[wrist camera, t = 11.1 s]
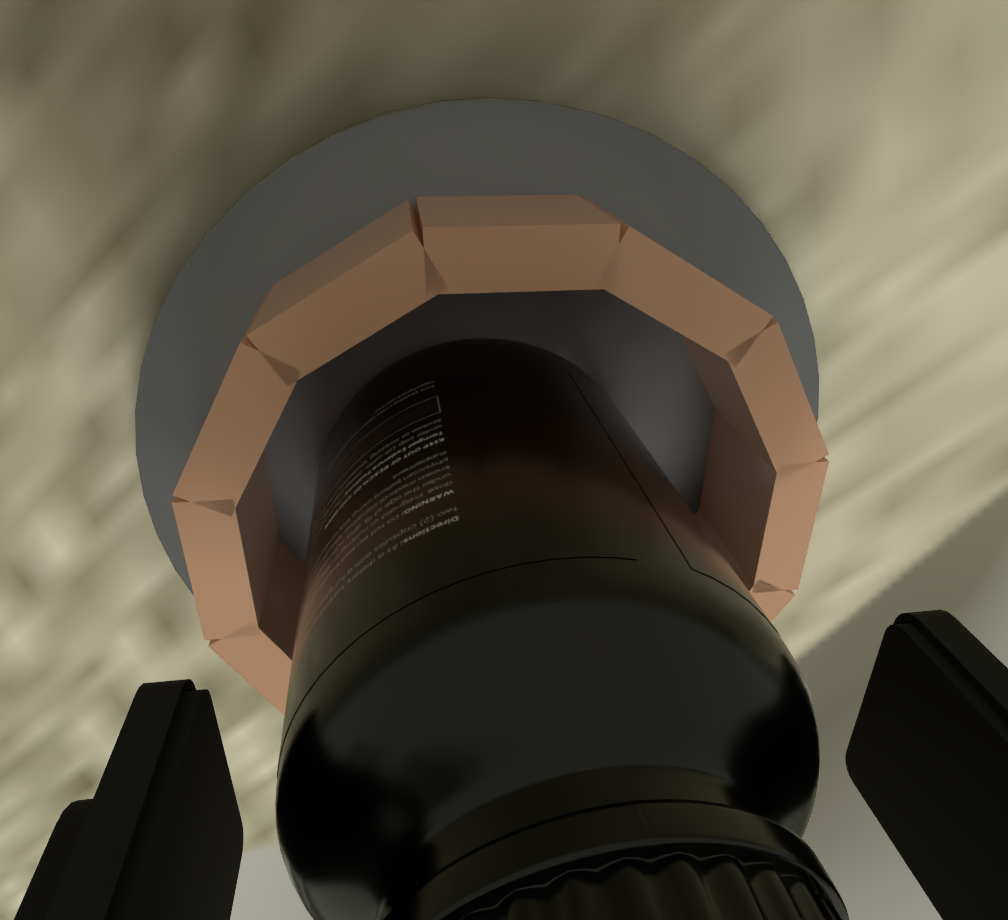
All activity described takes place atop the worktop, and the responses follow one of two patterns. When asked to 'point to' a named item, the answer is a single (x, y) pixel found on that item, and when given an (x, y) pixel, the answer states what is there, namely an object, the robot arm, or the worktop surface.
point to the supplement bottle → (532, 671)
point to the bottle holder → (471, 314)
